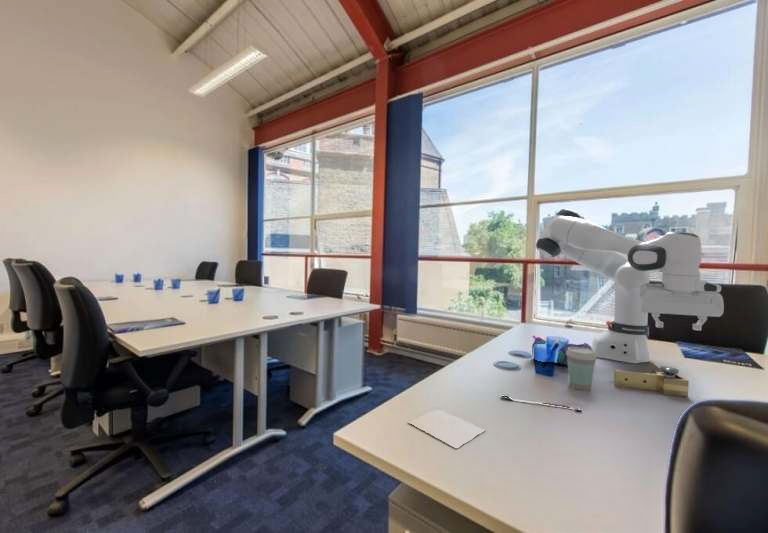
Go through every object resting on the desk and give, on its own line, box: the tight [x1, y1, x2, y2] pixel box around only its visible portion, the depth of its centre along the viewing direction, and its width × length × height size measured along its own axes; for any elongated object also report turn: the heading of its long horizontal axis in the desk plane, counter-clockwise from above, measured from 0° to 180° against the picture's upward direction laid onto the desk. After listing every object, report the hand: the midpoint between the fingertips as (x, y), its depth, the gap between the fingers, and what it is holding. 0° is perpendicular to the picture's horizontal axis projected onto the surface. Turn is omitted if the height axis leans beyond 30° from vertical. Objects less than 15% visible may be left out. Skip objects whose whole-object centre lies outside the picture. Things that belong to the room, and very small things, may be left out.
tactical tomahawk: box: [501, 395, 583, 413], centre depth 97 cm, size 21×7×1 cm, turn 68°
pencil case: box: [531, 335, 592, 367], centre depth 130 cm, size 21×9×10 cm, turn 60°
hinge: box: [613, 360, 690, 397], centre depth 112 cm, size 18×18×5 cm
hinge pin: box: [660, 365, 680, 378], centre depth 105 cm, size 4×4×7 cm
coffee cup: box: [566, 347, 598, 391], centre depth 108 cm, size 8×8×12 cm
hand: (677, 328), depth 104 cm, fingers open, 8 cm apart
